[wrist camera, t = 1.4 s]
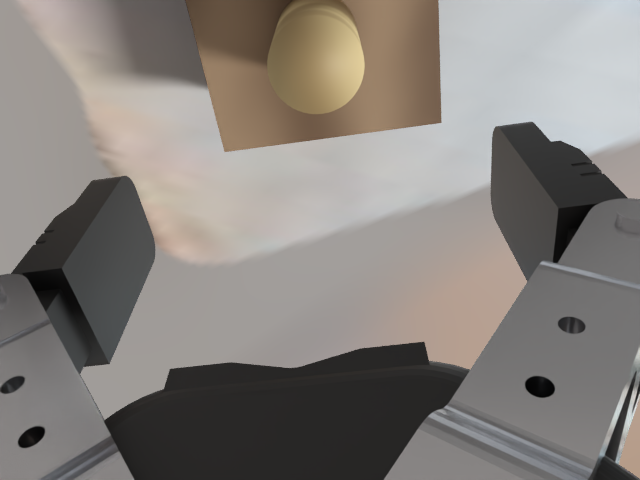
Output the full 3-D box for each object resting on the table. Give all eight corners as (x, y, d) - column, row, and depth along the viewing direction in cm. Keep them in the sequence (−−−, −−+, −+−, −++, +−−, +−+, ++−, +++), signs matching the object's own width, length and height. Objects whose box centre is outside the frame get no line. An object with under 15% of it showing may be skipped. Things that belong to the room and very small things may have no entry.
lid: (426, -115, 23) (463, -114, 17) (433, 107, 29) (463, 167, 22) (179, -74, 24) (131, -58, 18) (230, 134, 29) (207, 200, 23)
